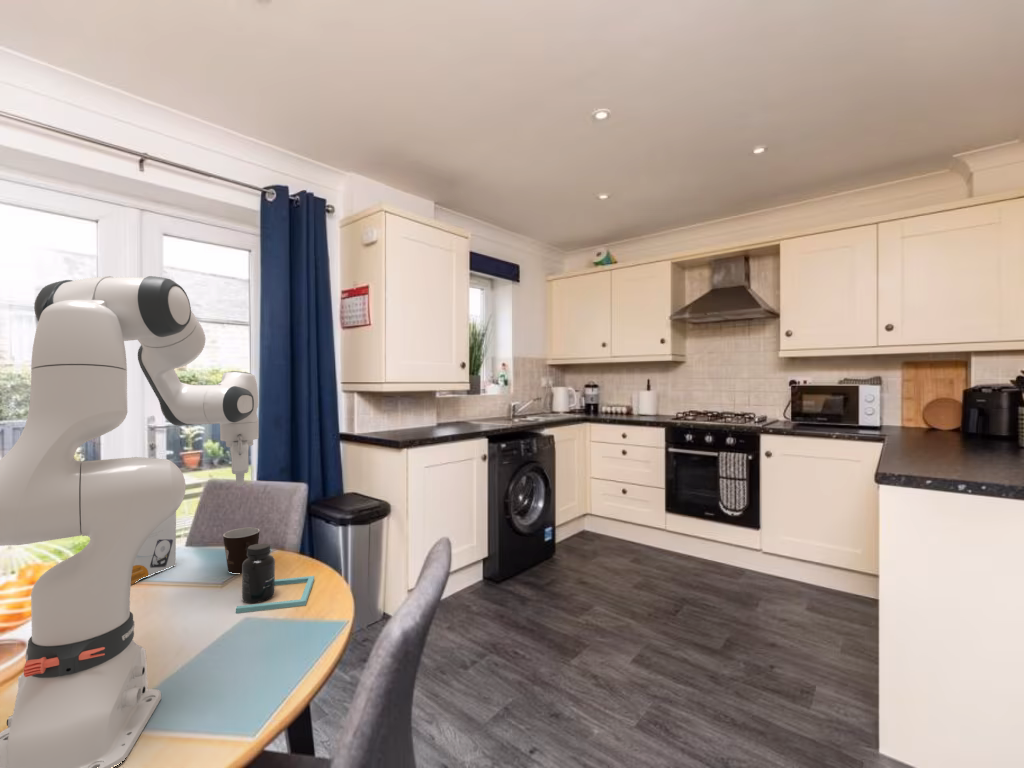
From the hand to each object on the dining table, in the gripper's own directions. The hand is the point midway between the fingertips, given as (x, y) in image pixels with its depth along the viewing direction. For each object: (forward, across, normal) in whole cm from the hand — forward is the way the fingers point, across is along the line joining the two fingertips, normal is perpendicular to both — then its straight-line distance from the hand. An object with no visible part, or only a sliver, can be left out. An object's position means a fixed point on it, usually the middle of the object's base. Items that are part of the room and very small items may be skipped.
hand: (240, 485), depth 128 cm
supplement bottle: (+23, -19, -4) cm, 30 cm away
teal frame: (+23, -20, -8) cm, 32 cm away
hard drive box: (+23, +10, +23) cm, 34 cm away
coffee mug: (+23, 0, 0) cm, 23 cm away
